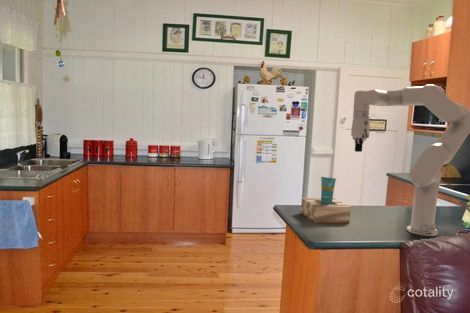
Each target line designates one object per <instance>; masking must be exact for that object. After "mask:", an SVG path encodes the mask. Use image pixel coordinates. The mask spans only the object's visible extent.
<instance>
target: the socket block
mask: <svg viewBox="0 0 470 313" xmlns="http://www.w3.org/2000/svg"><path fill="white" fill-rule="evenodd" d="M300 208H301V209H300V214H301V213H302V215H303V214H304V215H305V216H306V218H307V219H308V218H309V219H310V221H311V222H312V221H313V222H314V223H313V222H312V223H313V224H350V220H351V211H352V210H351V209H352V207H351V206H350V205H348V204H347V203H344V202H342V201H340V200H339V199H337V198H335V197H333V199H332V205H321V197H316V198H315V197H302V198H301V207H300ZM304 215H303V216H304ZM305 216H304V217H305ZM309 219H308V220H309Z"/></svg>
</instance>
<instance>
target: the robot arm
mask: <svg viewBox="0 0 470 313" xmlns="http://www.w3.org/2000/svg"><path fill="white" fill-rule="evenodd" d="M353 96H354V97H353V99H354V100H353V111H352V112H353V114H352V122H351V131H350V136H351V137H352V140H353V141H354V152H356V153H359V152H360V153H362V152H363V144H364V142H366V141H367V139H369V138H370V132H371V131H370V126H371V125H370V119H369V116H370V105H371V106H377V107H378V106H379V107H398V106H403V107H410V106H413V107H414V106H424V107H425V108H427V109H428V111H430V112H431V113H432V114H433V115H434V116H435V117H437V118H438V119H439V120H440V121H441V122H445V123H448V127H447V128H446V129H445V130H444V132H443V133H442V135H441V136H440V138H439V139H438V141H437V142H436V143H433V144H430V145H429V146H427V147H426V148H425V149H424V150H423V151H422V153H421V154H420V156H419V158H418V159H417V160H416V161H415V163H414V165H413V166H412V168H411V170H410V173H409V180H410V182H411V183H412V184H413V185H414V186H415V187H414V193H413V200H412V209H411V220H410V225H408V226H406V231H407V232H408V233H411V234H414V235H418V236H423V237H436V236H437V235H438V233H439V230H438V229H436V225H435V222H436V220H435V219H436V213H437V212H436V211H437V203H438V197H439V195H438V194H439V189H440V185H441V180H442V172H441V169H442V168H443V166H444V165H448V164H450V163H451V162H452V160H453V159H454V157H455V156H456V154H457V152H458V150H459V149H460V147H461V146H462V145H463V143H464V142H465V140H466V139H467V137H468V136H469V134H470V110H469V109H468V108H467V107H466V106H465V105H464V104H462V103H459V102H455V101H453V100H452V99H451V98H449V97H448V96H447V95H446V93H445V90H444V88H442V87H441V86H439V85H436V84H432V83H431V84H430V83H429V84H426V85H423V86H407V87H404V88H402V89H398V90H382V89H370V90H357V91H355V92H354V95H353Z"/></svg>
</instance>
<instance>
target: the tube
mask: <svg viewBox="0 0 470 313" xmlns="http://www.w3.org/2000/svg"><path fill="white" fill-rule="evenodd" d="M320 179H321V180H320V181H321V184H320V185H321V192H320V193H321V194H320V196H321V197H320V198H321V205H332V199H333V198H334V192H335V191H334V190H335V185H336V180H337V178H334V177H325V176H321V177H320Z"/></svg>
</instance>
